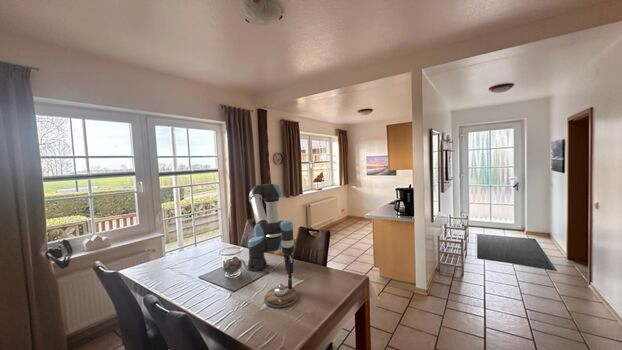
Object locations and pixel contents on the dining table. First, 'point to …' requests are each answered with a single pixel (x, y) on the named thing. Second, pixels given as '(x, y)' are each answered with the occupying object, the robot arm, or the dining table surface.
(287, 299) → the platter
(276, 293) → the cover
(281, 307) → the turntable base
